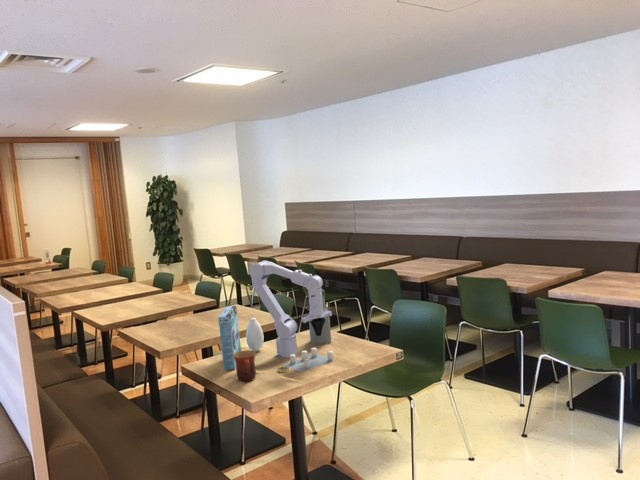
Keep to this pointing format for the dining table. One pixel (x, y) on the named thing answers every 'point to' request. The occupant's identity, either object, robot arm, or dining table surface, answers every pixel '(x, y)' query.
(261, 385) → the dining table surface
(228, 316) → the blue cereal box
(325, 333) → the water bottle
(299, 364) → the plate
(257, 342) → the sauce bottle
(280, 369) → the nut
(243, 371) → the mug
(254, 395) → the dining table surface
